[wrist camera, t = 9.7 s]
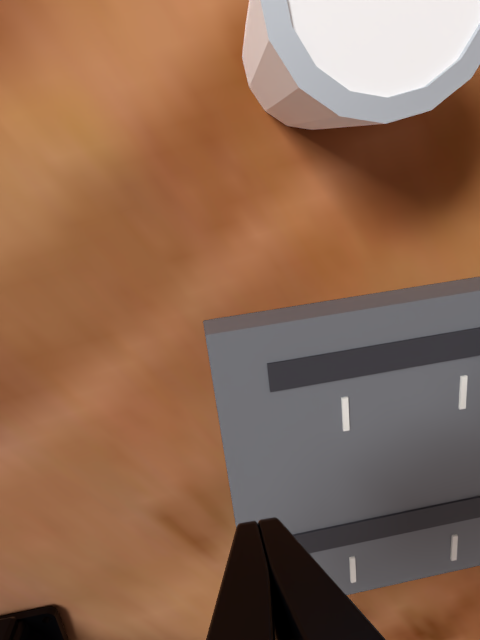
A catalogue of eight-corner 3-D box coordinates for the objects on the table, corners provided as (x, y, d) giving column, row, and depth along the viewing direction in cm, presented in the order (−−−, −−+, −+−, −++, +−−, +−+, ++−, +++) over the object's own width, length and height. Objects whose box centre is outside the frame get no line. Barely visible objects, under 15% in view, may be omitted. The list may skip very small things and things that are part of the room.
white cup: (395, -52, 16) (542, -215, 10) (388, 139, 18) (503, 115, 12) (218, -49, 15) (246, -222, 9) (233, 150, 18) (264, 131, 11)
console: (605, 506, 27) (639, 531, 25) (245, 584, 25) (250, 618, 23) (658, 248, 22) (706, 254, 20) (203, 320, 20) (205, 335, 18)
